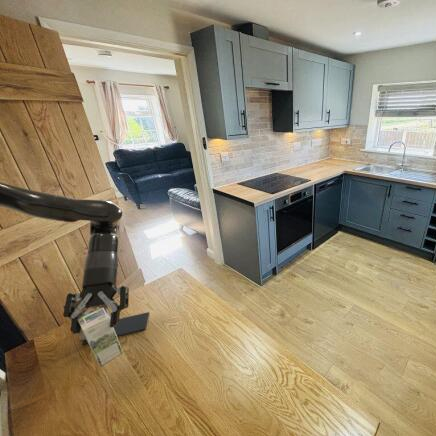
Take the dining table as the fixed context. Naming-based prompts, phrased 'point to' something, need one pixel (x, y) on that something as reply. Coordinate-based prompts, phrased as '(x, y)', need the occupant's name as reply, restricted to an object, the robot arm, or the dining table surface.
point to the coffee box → (90, 310)
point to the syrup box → (100, 336)
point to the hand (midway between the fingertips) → (95, 330)
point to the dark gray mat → (129, 325)
